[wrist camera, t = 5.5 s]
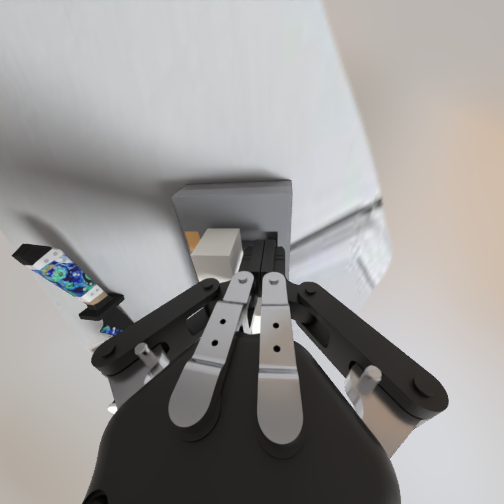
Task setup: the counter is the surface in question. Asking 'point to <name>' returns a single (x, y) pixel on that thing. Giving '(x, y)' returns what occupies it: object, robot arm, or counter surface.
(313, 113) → the counter surface
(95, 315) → the knife
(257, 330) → the tab middle
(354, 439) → the robot arm
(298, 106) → the counter surface
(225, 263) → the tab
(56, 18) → the counter surface
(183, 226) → the switch block
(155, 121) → the counter surface
